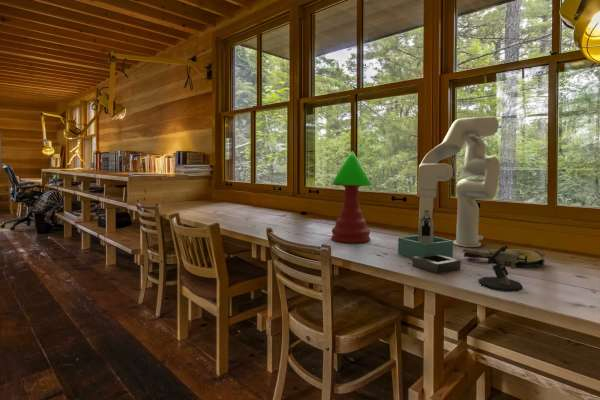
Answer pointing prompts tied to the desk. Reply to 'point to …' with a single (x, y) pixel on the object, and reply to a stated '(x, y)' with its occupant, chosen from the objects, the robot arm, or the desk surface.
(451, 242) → the teal bin
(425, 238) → the energy drink can
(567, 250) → the desk surface
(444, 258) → the steel collar
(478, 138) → the robot arm
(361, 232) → the table lamp
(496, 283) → the gun turret
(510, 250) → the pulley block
